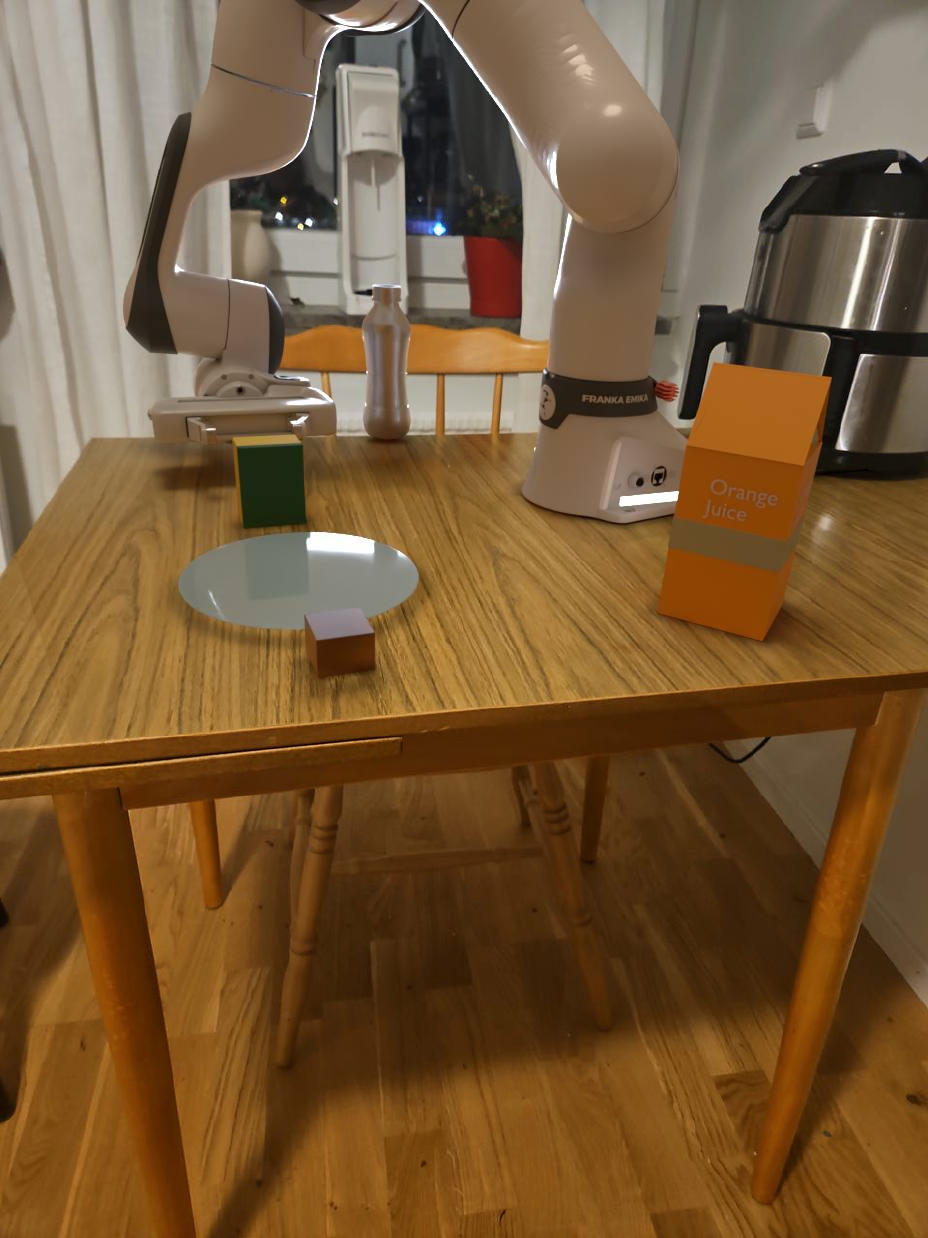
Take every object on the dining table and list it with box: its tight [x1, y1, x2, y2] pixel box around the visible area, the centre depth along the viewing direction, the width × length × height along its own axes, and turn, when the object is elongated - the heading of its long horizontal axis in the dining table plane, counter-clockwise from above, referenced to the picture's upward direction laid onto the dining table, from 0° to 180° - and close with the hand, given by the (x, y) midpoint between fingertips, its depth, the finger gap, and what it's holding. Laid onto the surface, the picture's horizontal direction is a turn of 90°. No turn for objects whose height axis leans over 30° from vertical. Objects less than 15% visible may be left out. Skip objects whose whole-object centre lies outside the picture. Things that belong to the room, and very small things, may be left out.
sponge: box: [232, 434, 307, 530], centre depth 79 cm, size 6×4×9 cm, turn 111°
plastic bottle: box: [361, 284, 412, 441], centre depth 110 cm, size 6×7×20 cm
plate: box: [177, 531, 420, 631], centre depth 69 cm, size 20×20×1 cm
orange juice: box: [656, 361, 833, 642], centre depth 65 cm, size 8×9×20 cm
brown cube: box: [304, 608, 376, 679], centre depth 56 cm, size 4×4×4 cm
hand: (255, 435), depth 86 cm, fingers open, 8 cm apart
